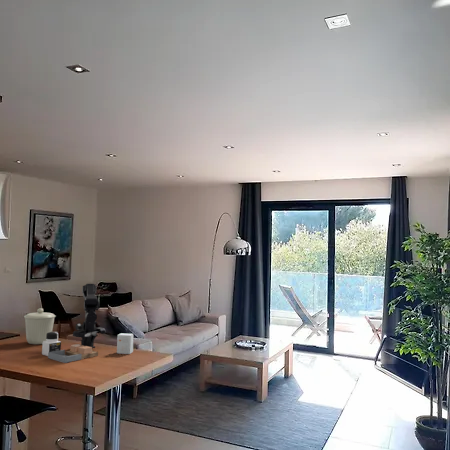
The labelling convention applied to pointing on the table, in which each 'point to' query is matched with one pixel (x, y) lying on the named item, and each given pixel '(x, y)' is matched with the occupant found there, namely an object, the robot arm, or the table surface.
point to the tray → (63, 356)
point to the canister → (38, 326)
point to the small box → (124, 343)
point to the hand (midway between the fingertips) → (88, 347)
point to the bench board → (82, 354)
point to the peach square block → (85, 350)
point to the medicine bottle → (51, 343)
